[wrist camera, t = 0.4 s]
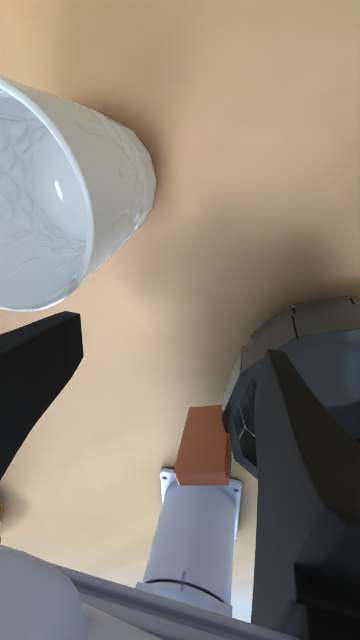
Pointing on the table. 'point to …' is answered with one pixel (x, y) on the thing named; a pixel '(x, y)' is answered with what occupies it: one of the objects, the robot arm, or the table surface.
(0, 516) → the rough brown rock
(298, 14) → the table surface
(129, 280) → the table surface
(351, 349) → the black cooking pot
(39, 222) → the white cup
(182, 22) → the table surface
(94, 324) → the table surface
